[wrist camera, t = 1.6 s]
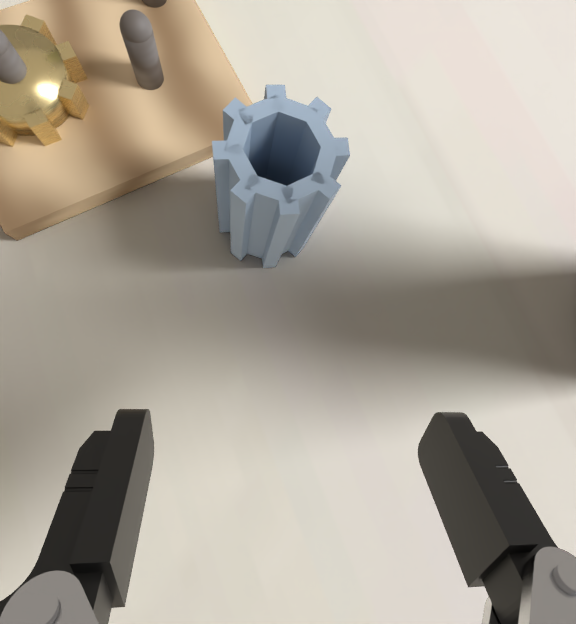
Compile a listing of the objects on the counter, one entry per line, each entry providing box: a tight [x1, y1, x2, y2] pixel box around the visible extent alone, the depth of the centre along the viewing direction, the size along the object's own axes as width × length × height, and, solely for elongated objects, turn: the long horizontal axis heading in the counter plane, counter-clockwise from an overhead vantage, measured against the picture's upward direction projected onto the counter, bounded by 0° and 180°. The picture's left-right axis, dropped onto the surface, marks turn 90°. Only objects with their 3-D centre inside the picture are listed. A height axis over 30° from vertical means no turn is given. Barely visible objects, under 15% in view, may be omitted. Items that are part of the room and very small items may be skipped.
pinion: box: [212, 85, 350, 268], centre depth 23 cm, size 6×6×10 cm
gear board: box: [0, 0, 252, 241], centre depth 25 cm, size 18×14×6 cm
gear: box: [0, 14, 89, 147], centre depth 25 cm, size 8×8×2 cm
